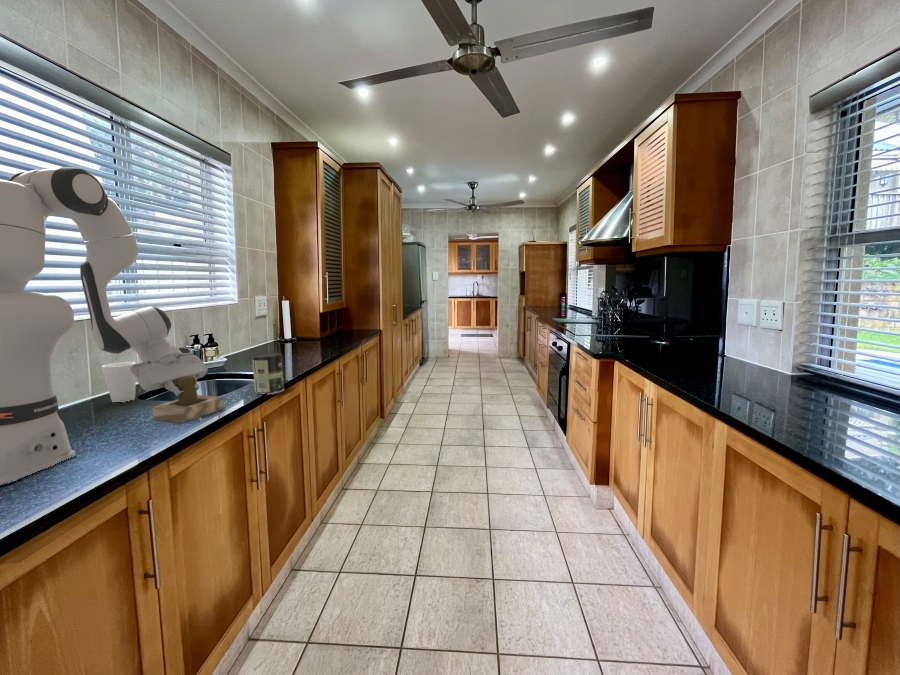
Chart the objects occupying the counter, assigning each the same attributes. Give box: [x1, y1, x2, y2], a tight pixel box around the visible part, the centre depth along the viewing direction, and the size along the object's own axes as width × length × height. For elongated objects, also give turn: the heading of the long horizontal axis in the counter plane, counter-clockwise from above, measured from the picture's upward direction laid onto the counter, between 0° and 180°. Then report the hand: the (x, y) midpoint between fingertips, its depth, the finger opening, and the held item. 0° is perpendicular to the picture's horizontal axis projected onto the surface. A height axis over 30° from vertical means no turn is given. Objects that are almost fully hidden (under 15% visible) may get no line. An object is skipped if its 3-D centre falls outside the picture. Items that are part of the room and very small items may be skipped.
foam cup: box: [101, 361, 137, 403], centre depth 144 cm, size 10×9×13 cm
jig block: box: [151, 394, 224, 423], centre depth 127 cm, size 14×12×4 cm
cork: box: [175, 376, 199, 406], centre depth 126 cm, size 6×6×11 cm
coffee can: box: [251, 352, 285, 396], centre depth 152 cm, size 10×10×14 cm
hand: (188, 391), depth 126 cm, fingers closed on cork, 4 cm apart
